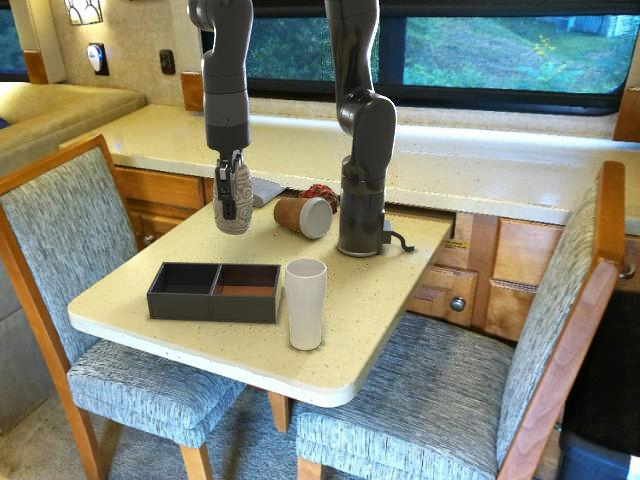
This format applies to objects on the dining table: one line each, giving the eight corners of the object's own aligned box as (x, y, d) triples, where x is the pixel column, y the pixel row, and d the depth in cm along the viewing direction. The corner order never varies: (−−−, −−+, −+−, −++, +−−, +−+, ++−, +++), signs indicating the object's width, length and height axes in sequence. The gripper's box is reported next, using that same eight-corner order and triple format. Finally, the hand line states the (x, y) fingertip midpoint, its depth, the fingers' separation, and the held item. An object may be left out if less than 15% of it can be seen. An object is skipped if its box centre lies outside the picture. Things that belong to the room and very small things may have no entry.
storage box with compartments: (281, 289, 119) (281, 264, 116) (276, 323, 109) (275, 297, 106) (166, 285, 123) (162, 261, 120) (150, 319, 113) (146, 293, 110)
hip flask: (263, 208, 153) (299, 182, 167) (262, 193, 151) (299, 168, 165) (212, 198, 160) (250, 173, 174) (210, 184, 158) (249, 160, 172)
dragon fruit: (338, 228, 144) (299, 223, 152) (352, 199, 146) (313, 195, 154) (323, 208, 138) (283, 204, 146) (338, 178, 140) (297, 175, 148)
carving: (245, 240, 105) (241, 175, 99) (208, 233, 109) (202, 170, 102) (260, 225, 110) (257, 162, 104) (225, 219, 113) (220, 158, 107)
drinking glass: (283, 333, 106) (281, 259, 98) (320, 329, 107) (322, 255, 99) (288, 356, 101) (288, 279, 93) (328, 352, 101) (331, 275, 93)
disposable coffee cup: (286, 237, 146) (323, 246, 137) (262, 221, 139) (299, 229, 131) (301, 202, 146) (339, 208, 138) (278, 184, 140) (316, 189, 131)
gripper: (242, 130, 92) (248, 228, 101) (255, 105, 104) (259, 195, 113) (195, 130, 93) (204, 227, 102) (213, 106, 105) (220, 195, 114)
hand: (233, 210), depth 107 cm, fingers closed on carving, 6 cm apart
